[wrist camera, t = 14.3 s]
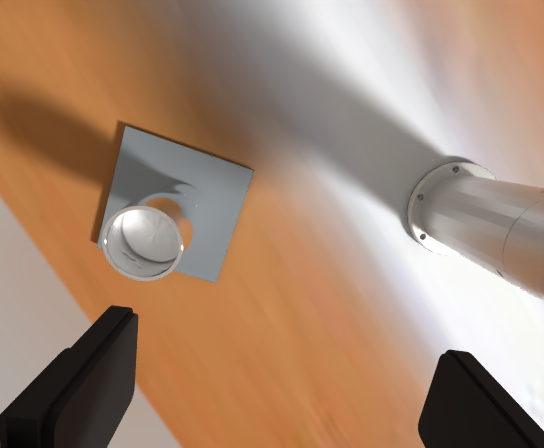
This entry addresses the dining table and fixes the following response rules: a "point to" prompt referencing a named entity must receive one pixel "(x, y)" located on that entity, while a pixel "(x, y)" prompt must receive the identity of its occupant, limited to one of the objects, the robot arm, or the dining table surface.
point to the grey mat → (187, 170)
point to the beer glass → (153, 232)
